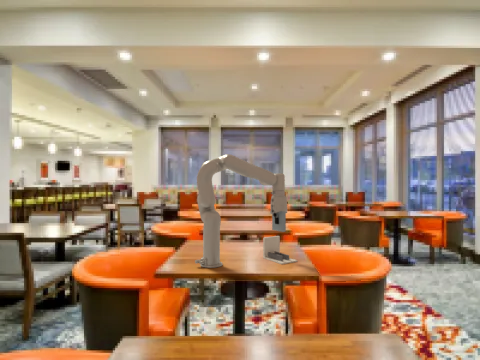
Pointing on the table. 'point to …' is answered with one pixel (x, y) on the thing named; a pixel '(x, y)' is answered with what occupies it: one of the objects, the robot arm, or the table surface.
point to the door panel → (282, 222)
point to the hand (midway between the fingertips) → (278, 223)
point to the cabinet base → (275, 251)
